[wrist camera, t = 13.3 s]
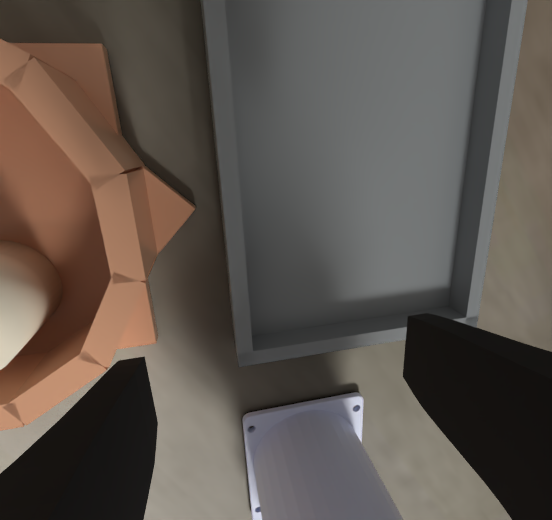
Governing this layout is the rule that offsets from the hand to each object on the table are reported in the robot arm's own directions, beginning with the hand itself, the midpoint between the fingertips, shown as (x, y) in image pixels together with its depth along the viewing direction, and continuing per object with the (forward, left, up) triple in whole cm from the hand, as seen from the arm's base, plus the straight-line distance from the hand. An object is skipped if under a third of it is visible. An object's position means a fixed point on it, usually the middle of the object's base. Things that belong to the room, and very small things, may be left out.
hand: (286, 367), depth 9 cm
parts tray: (+5, -6, -10) cm, 13 cm away
